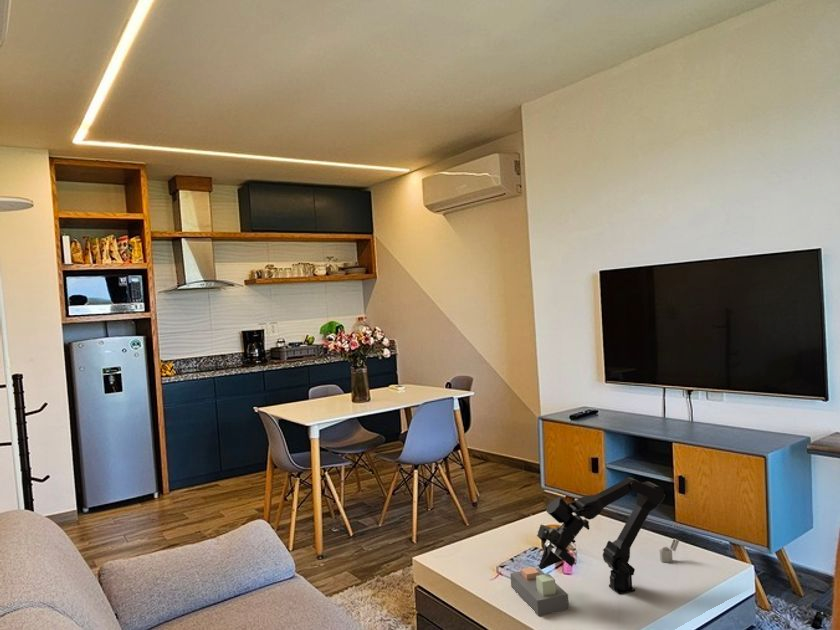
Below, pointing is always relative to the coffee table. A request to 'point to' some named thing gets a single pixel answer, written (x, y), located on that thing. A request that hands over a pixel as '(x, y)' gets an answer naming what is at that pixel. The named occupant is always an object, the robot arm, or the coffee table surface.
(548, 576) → the sage key
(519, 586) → the keypad
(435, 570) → the coffee table surface
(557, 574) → the coffee table surface
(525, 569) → the terracotta key
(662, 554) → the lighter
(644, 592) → the coffee table surface
